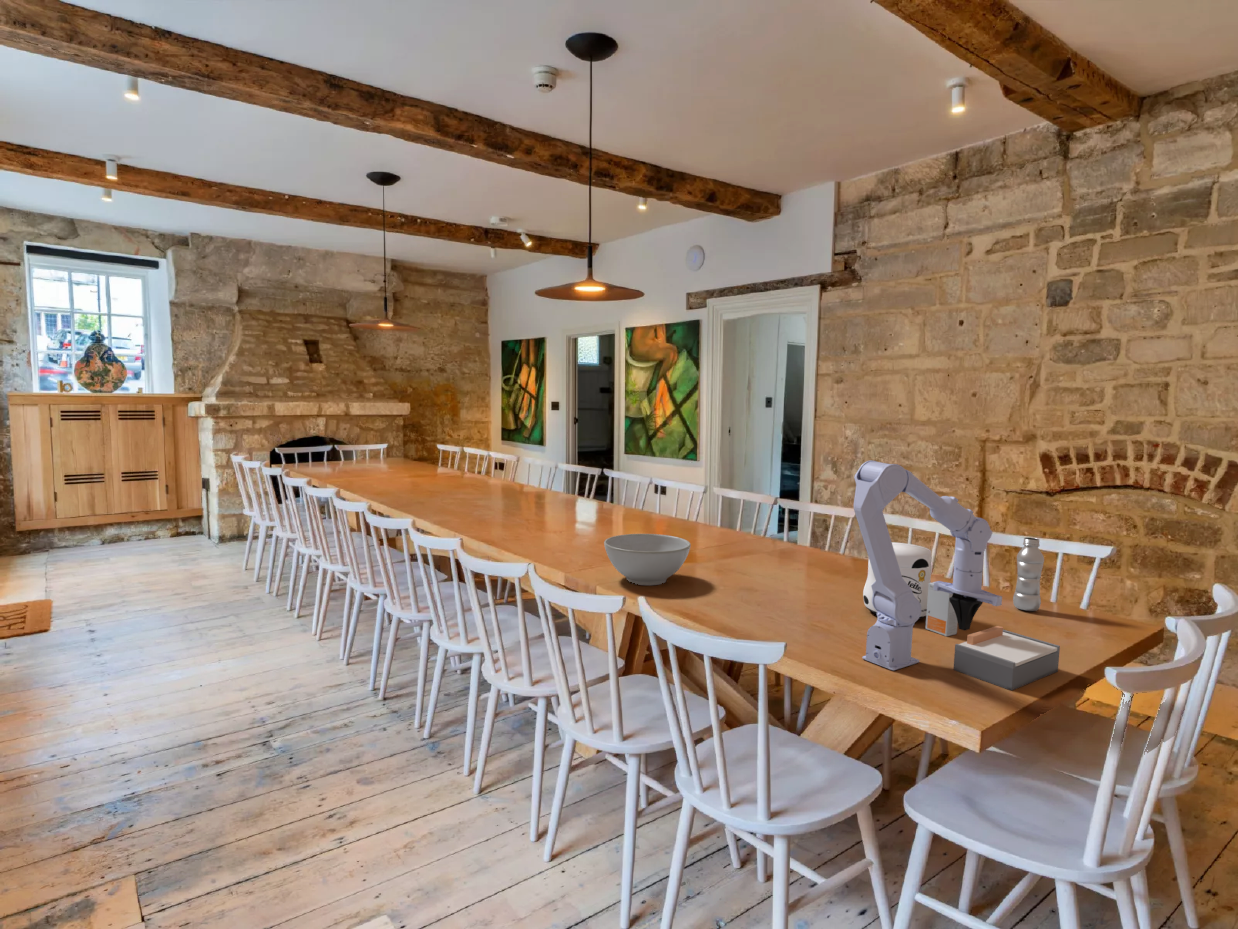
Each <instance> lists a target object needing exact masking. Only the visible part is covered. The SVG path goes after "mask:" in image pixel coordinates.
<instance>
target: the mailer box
mask: <svg viewBox="0 0 1238 929" xmlns="http://www.w3.org/2000/svg"><path fill="white" fill-rule="evenodd" d="M1003 632H1005V633H1008V634H1012V635H1015V636H1019V637H1022V638H1026V639H1029V640H1032V641H1036V642H1039V643H1043V644H1046V645H1050V646H1053V647H1056V648H1057V651H1056V652H1053V653H1050V654H1048V655H1045V656H1043V657H1040V658H1037V659H1035V660H1032V661H1029V662H1027V663H1024V664H1022V665H1019V666H1015V662H1012V661H1009V660H1006V659H1003V658H1000V657H996V656H993V655H990V654H987V653H984V652H981V651H978V650H975V649H972V648H969V647H966V646H962V645H959V644H960V643H955V644H954V656H953V657H954V658H953V671H955V672H959V673H961V674H964V675H967V676H970V677H972V678H975V679H978V680H980V681H983V682H986V683H989V684H992V685H994V686H998V687H1000V688H1002V689H1005V690H1009V691H1010V692H1011V691H1012V692H1013V691H1014V690H1016V689H1019V688H1021V687H1023V686H1026V685H1030V684H1031V683H1033V682H1036V681H1038V680H1040V679H1042V678H1045V677H1048V676H1050V675H1053V674H1055V673H1058V672H1059V663H1060V662H1059V661H1060V650H1061V646H1060V645H1058V644H1054V643H1051V642H1048V641H1044V640H1042V639H1037V638H1034V637H1031V636H1026V635H1023V634H1020V633H1016V632H1013V631H1009V630H1006V629H1003Z"/></svg>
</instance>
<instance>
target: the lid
mask: <svg viewBox="0 0 1238 929" xmlns="http://www.w3.org/2000/svg"><path fill="white" fill-rule="evenodd" d="M1003 630H1004V627H1003V626H1000V625H996V626H992V627H989V628H987V629H982V630H979V631H977V632H973V633H970V634H967V637H966V641H963V642H961V643H958V644H959V645H962V646H966V647H969V648H972V649H975V650H978V651H981V652H984V653H987V654H990V655H993V656H996V657H1000V658H1003V659H1006V660H1009V661H1012V662H1015V666H1019V665H1022V664H1024V663H1027V662H1029V661H1032V660H1035V659H1037V658H1040V657H1043V656H1045V655H1048V654H1050V653H1053V652H1056V651H1057V648H1056V647H1053V646H1050V645H1046V644H1043V643H1039V642H1036V641H1032V640H1029V639H1026V638H1022V637H1019V636H1015V635H1012V634H1008V633H1005V632H1003Z"/></svg>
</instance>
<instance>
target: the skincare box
mask: <svg viewBox="0 0 1238 929" xmlns="http://www.w3.org/2000/svg"><path fill="white" fill-rule="evenodd" d="M934 582H935V581H933V582H931V583H929V586H928V600H927V614H926V617H925V630H928V631H931V632H933V633H936V634H939V635H941V636H944V637H950V636H954V635H957V633H958V621H957V617H956V614H955V611H954V609H953V606H952V604H951V603H950V601H949V598H950V597H952V596H953V594H951V593H947V592H943V591H936V590H933V589H934Z"/></svg>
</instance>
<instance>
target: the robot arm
mask: <svg viewBox="0 0 1238 929" xmlns="http://www.w3.org/2000/svg"><path fill="white" fill-rule="evenodd" d="M853 478H854V481H855V492H854V499H853V510H854V511H853V512H854V514H855V518H856V520H857V524H858V526H859V527H858V528H859V531H860V534H861V537H862V540H863V543H864V546H865V549H866V554H867V557H868V560H870V563H871V567H872V570H873V573H874V577H875V580H876V581H875V582H874V583H873V584H872V585H871V587H872V591H873V596H872V604H873V607H874V608H875V609H876V610H877V614H876V617H877V618H876V622H875V623H874V624H873V625H872V626H870V627H869V628H868V630H867V632H866V644H865V649H866V650H865V655H863V656H862V657H861V658H862V660H865V661H867V662H870V663H873V664H876V665H878V666H880V667H883V668H886V669H888V670H890V671H896V670H900V669H902V668H905V667H908V666H912V665H915V664H918V663H920V659H918V658H916V657H913V656H912V644H913V630H914V626H915V623H916V622H917V621H918V620H920V619H919V617H920V615H921V604H920V602H919V601H918V600H917V599H916V598H915V597H914V595H913V592H912V589H911V588H910V587H909V585H908V584H907V583H906V582H905V581H904V579H903V578H902V575H901V572H900V568H899V565H898V562H897V558H896V555H895V552H894V548H893V545H892V538H891V535H890V533H889V529H888V526H887V522H886V519H885V515H884V512H883V511H884V509H885V508H886V506H888V505H889V504H890V503H892V501H893V500H894V499H895V498H896V497H898V496H899V494H901V493H905V494H906V495H909V496H910V497H911V498H913V499H915V500H916V501H917V502H919V503H921V504H922V505H924V506H925V507H927V508H928V509H929V515H930V516H931V518H932V519H934V520H935V521H937V522H938V523H939V524H941V525H942V526H944V527H945V528H946V529H948V530H949V532H950V534H951V536H952V537H953V538H955V543H954V557H953V558H954V559H953V577H952V583H951V582H946V581H942V580H937V581H933V582H934V589H933V590H936V591H943V592H947V593H951V594H953V596H952V597H950V598H949V601H950V603H951V604H952V606H953V609H954V611H955V614H956V617H957V621H958V623H957V628H958V630H962V631H969V630H970V628H971V624H972V622H973V619H974V618H975V616H976V613H977V612H978V610H979V608H980V607H981V606H982V605H983V603H986V604H991V605H992V606H994V607H999V606H1000V607H1001V606H1003V605H1002V604H1003V603H1002V602H1003V596H1002V595H999V594H998V595H997V594H995V593H992V592H990V591H987V590H984V589H982V588H983V584H982V583H983V572H984V556H985V551H986V550H987V544H988V541H989V540H990V539H991V538H992V535H993V530H991V526H990V525H989V522H988V521H987V520H986V519H984V518H982V517H979V516H978V517H977V516H975V514H974V511H973V510H972V509H969V508H965V507H964V506H963V505H961V504H960V503H959V499H958V498H957V497H955V496H952V495H950V496H948V495H942V496H940V495H939V494H937V493H936V492H935V491H934V490H932V489H931V488H930V487H929V486H927V485H926V484H925V483H924V482H923V481H922V480H920V479H919V478H918V477H917V476H915V475H914V474H913V472H911V471H910V470H907V469H906V468H904V467H903V466H901V465H900V464H898V463H897V464H896V463H885V462H881V461H877V460H866V461H865V462H863V463H862V464H861V465H860V466H859V468H858V470H857V471H856V473H855V474H854V477H853ZM989 542H990V541H989Z"/></svg>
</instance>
